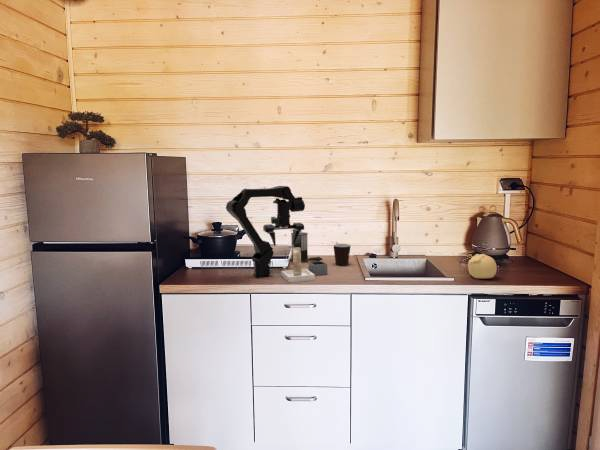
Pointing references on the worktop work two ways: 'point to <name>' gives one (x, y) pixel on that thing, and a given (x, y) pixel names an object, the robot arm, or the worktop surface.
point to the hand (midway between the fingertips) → (284, 245)
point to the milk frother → (302, 247)
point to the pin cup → (318, 268)
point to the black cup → (342, 254)
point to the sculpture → (482, 266)
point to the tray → (290, 277)
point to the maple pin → (297, 261)
